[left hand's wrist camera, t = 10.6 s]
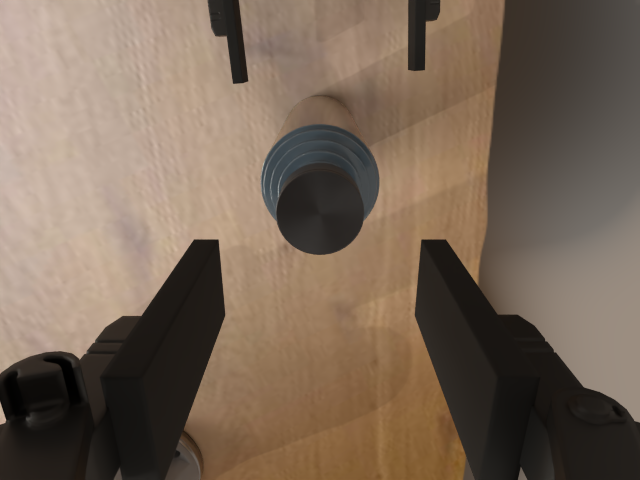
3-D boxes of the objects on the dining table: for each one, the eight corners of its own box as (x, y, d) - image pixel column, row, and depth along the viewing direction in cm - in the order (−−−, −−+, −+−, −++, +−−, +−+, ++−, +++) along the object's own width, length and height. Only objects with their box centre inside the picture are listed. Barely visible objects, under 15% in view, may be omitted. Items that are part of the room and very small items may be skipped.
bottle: (368, 120, 43) (420, 188, 20) (331, 179, 45) (342, 298, 23) (307, 81, 41) (293, 109, 19) (272, 144, 43) (223, 234, 21)
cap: (377, 189, 22) (381, 200, 20) (333, 254, 23) (334, 269, 22) (305, 146, 21) (304, 153, 19) (264, 216, 22) (259, 228, 21)
